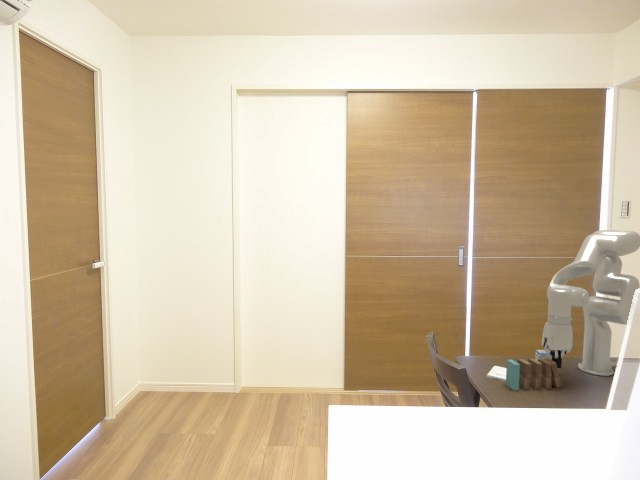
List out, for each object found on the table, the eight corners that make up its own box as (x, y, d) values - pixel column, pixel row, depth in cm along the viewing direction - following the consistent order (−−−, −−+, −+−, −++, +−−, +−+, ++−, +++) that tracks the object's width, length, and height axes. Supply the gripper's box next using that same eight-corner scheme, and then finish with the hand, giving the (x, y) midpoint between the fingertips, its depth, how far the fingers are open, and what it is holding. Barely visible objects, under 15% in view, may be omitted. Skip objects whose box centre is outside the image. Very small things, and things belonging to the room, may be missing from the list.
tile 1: (552, 381, 159) (546, 357, 158) (562, 386, 154) (556, 362, 153) (548, 382, 159) (542, 359, 158) (557, 388, 154) (551, 364, 153)
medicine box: (553, 370, 172) (554, 350, 171) (558, 374, 167) (559, 353, 167) (534, 369, 172) (535, 349, 172) (538, 373, 168) (539, 353, 167)
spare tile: (513, 390, 151) (514, 364, 151) (505, 384, 156) (506, 359, 156) (518, 390, 152) (519, 364, 151) (510, 384, 156) (511, 359, 156)
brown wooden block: (531, 383, 158) (533, 358, 157) (540, 389, 153) (541, 363, 152) (527, 383, 157) (528, 358, 157) (535, 389, 152) (536, 363, 152)
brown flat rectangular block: (542, 382, 158) (542, 358, 157) (551, 388, 153) (551, 362, 153) (537, 383, 158) (537, 358, 157) (546, 388, 153) (546, 363, 152)
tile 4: (521, 384, 157) (522, 359, 156) (529, 389, 152) (530, 363, 151) (516, 384, 157) (517, 359, 156) (524, 390, 152) (525, 364, 151)
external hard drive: (514, 373, 169) (508, 383, 159) (493, 369, 174) (486, 378, 164) (514, 369, 169) (508, 379, 159) (494, 365, 174) (486, 374, 164)
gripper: (569, 317, 159) (566, 363, 160) (534, 318, 157) (532, 364, 158) (584, 322, 152) (581, 370, 153) (547, 323, 150) (545, 371, 151)
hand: (556, 367), depth 156 cm, fingers closed
